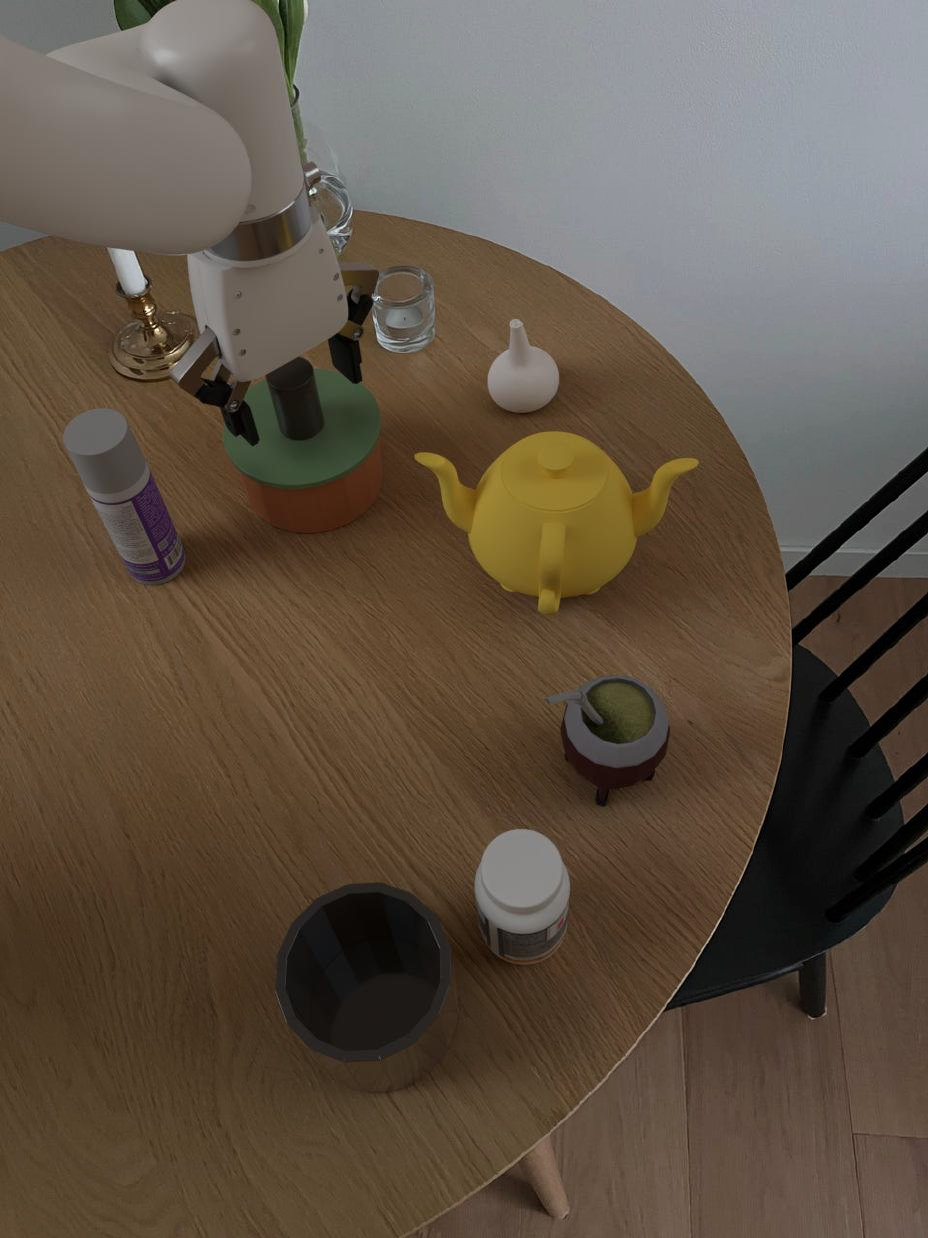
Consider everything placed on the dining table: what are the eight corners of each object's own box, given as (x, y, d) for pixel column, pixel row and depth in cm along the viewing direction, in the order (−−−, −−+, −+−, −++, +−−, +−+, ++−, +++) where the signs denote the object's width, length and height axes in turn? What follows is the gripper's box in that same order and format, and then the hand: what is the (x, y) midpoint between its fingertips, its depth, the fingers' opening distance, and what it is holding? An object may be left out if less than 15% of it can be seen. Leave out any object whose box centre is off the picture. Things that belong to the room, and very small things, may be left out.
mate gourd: (667, 733, 75) (697, 615, 62) (648, 835, 71) (675, 730, 58) (564, 710, 76) (573, 590, 64) (539, 809, 72) (543, 701, 60)
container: (167, 529, 87) (108, 396, 75) (197, 563, 85) (142, 432, 73) (117, 559, 86) (49, 429, 73) (146, 595, 84) (81, 467, 71)
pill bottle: (582, 906, 68) (591, 848, 60) (540, 985, 66) (543, 936, 57) (505, 864, 70) (503, 802, 62) (461, 939, 67) (453, 885, 59)
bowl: (222, 513, 88) (204, 464, 83) (283, 416, 94) (269, 365, 89) (350, 548, 85) (339, 500, 80) (404, 446, 91) (397, 395, 86)
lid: (198, 472, 83) (175, 411, 78) (268, 365, 90) (252, 302, 84) (344, 511, 80) (331, 451, 75) (406, 398, 87) (398, 334, 81)
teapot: (416, 636, 80) (402, 544, 71) (432, 486, 88) (422, 385, 79) (683, 645, 79) (706, 552, 69) (675, 492, 87) (694, 390, 77)
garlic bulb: (567, 411, 93) (571, 340, 86) (497, 425, 92) (496, 355, 85) (547, 362, 96) (549, 291, 89) (480, 375, 96) (477, 304, 89)
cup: (277, 1058, 64) (245, 1023, 56) (341, 911, 69) (319, 860, 61) (424, 1118, 62) (412, 1089, 54) (480, 961, 67) (475, 915, 59)
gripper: (326, 132, 73) (358, 328, 87) (104, 243, 67) (177, 432, 81) (393, 181, 69) (414, 375, 83) (165, 301, 64) (230, 488, 78)
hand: (297, 403), depth 82 cm, fingers open, 9 cm apart
